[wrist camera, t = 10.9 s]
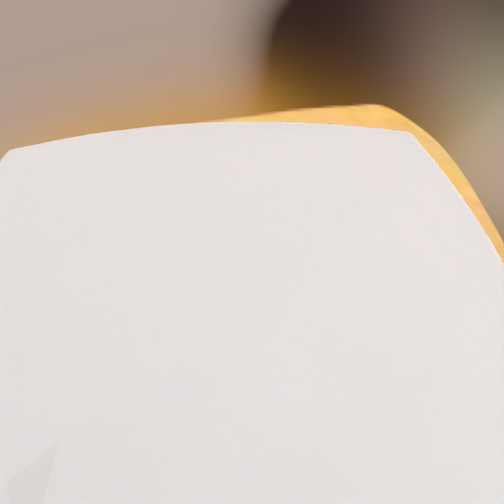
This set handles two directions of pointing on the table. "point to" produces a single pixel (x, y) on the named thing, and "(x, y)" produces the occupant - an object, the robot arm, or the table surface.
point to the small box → (246, 321)
